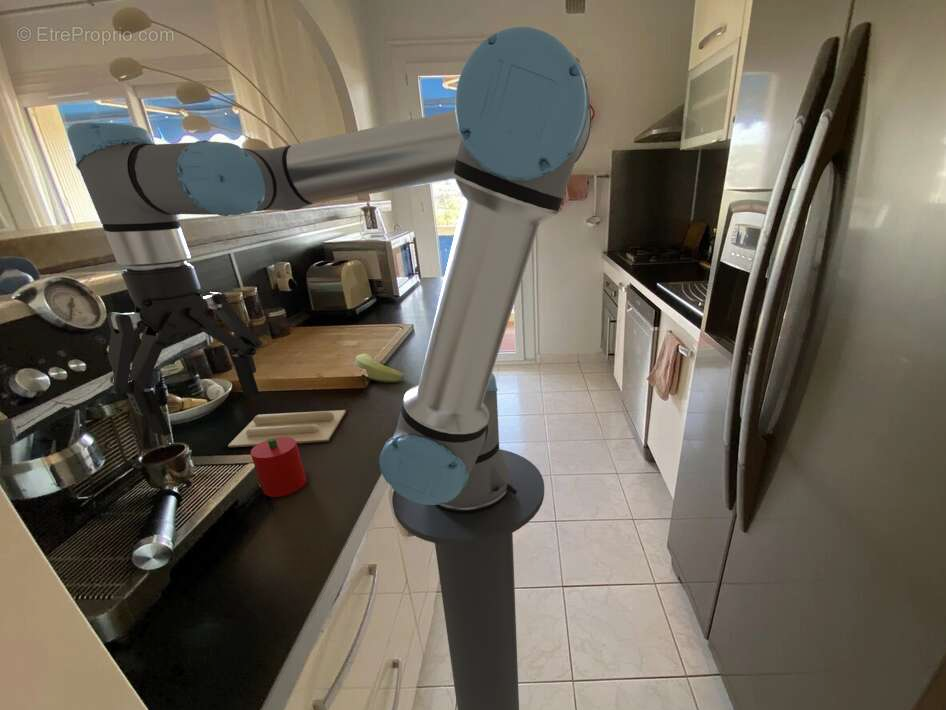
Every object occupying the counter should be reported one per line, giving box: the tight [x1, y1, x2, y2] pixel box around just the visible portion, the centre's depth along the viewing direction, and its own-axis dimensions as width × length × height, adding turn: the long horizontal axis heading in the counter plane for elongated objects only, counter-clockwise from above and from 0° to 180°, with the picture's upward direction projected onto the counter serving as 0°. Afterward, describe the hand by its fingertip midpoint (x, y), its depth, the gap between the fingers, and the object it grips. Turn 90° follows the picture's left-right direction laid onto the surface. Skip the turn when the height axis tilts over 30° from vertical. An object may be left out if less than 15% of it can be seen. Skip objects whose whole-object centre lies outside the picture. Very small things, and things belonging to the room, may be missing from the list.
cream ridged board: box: [227, 409, 347, 448], centre depth 99 cm, size 20×14×2 cm
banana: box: [354, 352, 405, 383], centre depth 129 cm, size 14×6×20 cm
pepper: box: [250, 437, 307, 498], centre depth 78 cm, size 7×7×9 cm
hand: (210, 412), depth 66 cm, fingers open, 13 cm apart
